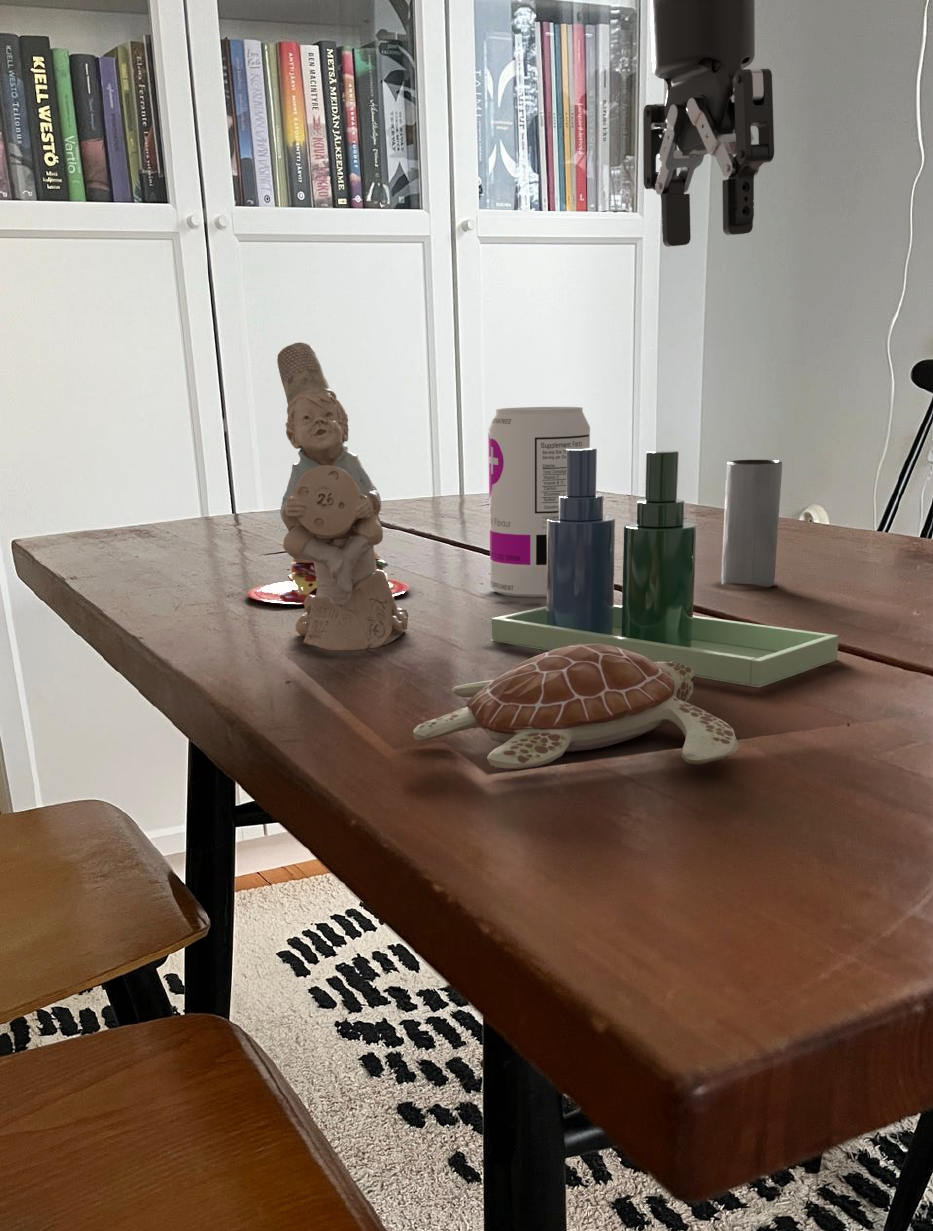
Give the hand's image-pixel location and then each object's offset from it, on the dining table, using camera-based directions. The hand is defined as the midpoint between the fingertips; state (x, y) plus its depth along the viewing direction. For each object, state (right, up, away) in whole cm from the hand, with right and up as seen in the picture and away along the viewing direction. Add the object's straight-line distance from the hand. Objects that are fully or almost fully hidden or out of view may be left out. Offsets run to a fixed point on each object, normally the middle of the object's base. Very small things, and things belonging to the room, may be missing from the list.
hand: (706, 239), depth 96 cm
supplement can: (-13, -26, +8) cm, 30 cm away
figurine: (-27, -33, -9) cm, 44 cm away
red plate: (-31, -26, +11) cm, 42 cm away
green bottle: (-6, -34, -15) cm, 38 cm away
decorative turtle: (-13, -42, -33) cm, 55 cm away
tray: (-6, -35, -15) cm, 38 cm away
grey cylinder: (+6, -25, +10) cm, 28 cm away
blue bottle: (-11, -33, -11) cm, 36 cm away
